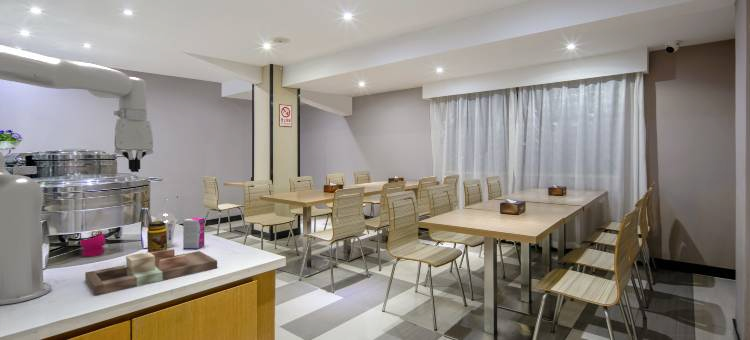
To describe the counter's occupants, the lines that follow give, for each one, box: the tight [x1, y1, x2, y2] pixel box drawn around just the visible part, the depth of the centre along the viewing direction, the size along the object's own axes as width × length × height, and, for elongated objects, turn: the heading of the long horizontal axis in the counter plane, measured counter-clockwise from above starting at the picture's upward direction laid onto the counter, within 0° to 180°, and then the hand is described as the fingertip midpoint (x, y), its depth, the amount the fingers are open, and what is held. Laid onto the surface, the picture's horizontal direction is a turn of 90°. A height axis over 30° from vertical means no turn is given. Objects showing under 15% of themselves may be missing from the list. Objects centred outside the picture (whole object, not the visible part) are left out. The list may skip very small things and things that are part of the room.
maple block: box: [125, 251, 155, 274], centre depth 109 cm, size 6×6×4 cm
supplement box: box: [182, 217, 206, 251], centre depth 142 cm, size 6×6×12 cm
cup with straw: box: [152, 196, 179, 249], centre depth 143 cm, size 8×9×20 cm
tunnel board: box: [84, 248, 218, 296], centre depth 112 cm, size 32×15×6 cm, turn 136°
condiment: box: [145, 221, 168, 253], centre depth 132 cm, size 7×8×12 cm
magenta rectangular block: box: [79, 231, 106, 257], centre depth 131 cm, size 7×7×20 cm
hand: (134, 171), depth 120 cm, fingers closed
